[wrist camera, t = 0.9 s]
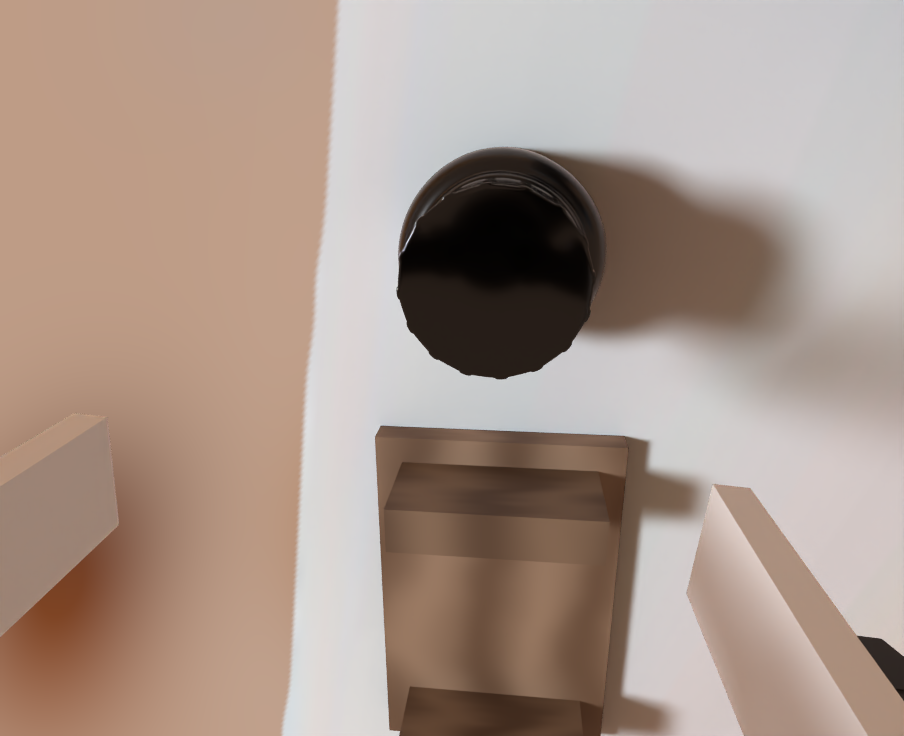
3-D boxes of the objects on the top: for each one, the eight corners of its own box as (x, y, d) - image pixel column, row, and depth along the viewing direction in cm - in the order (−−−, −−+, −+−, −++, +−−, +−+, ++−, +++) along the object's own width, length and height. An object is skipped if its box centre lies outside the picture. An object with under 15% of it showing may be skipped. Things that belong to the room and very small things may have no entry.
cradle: (624, 436, 36) (645, 496, 30) (596, 729, 43) (608, 826, 37) (380, 426, 37) (352, 481, 31) (393, 711, 44) (373, 801, 38)
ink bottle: (382, 254, 34) (311, 309, 23) (475, 104, 31) (446, 82, 20) (530, 355, 35) (533, 456, 23) (634, 219, 32) (694, 261, 21)
